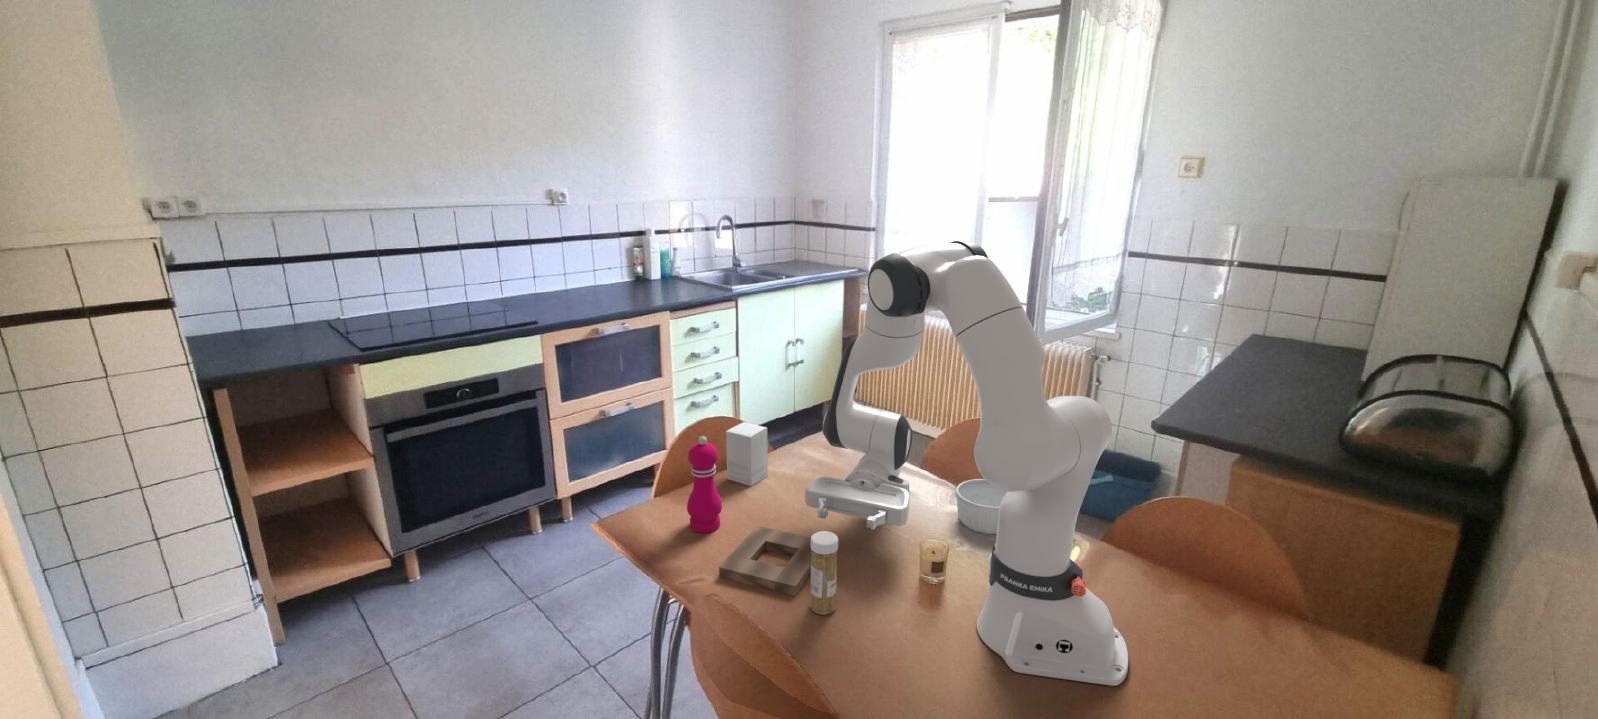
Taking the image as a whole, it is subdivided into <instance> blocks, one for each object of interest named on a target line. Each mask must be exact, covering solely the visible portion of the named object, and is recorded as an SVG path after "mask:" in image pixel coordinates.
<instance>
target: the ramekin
mask: <svg viewBox="0 0 1598 719" xmlns="http://www.w3.org/2000/svg"><path fill="white" fill-rule="evenodd" d="M1006 493H1007V491H1002V490H999V489H997V488H995V487H993V486H992V485H991V484H989V483H988V482H987V481H986V480H985V479H984V478H976V479H975V478H974V479H969V480H965V481H963V482H961V483H959V484H958V485H957V486H956V489H955V498H956V505H957V506H956V507H957V515H958V519H959V520H960V522H961V523H962V524H963V525H964V526H965V527H966V528H968V529H969V530H972V531H973V532H977V533H981V534H987V535H996V534H997V524H998V515H999V507H1000V504H1001V501H1002V499H1003V498H1004V496H1005V495H1006Z"/></svg>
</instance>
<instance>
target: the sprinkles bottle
mask: <svg viewBox="0 0 1598 719" xmlns="http://www.w3.org/2000/svg"><path fill="white" fill-rule="evenodd" d="M810 538H811V551H812V556H811V557H812V558H811V574H810V603H809V607H810V609H811V611H812V612H814V613H815V614H818V615H822V616H825V615H829V614H832V613H834V612H835V610H836V609H837V602H836V601H837V598H836V597H837V571H838V570H837V569H838V568H837V567H838V566H837V564H838V563H837V556H838V553H837V552H838V549H839V537H838V535H836V534H835V533H834V532H831V531H825V530H822V531H817V532H815V533H813V534H811V537H810Z"/></svg>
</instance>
